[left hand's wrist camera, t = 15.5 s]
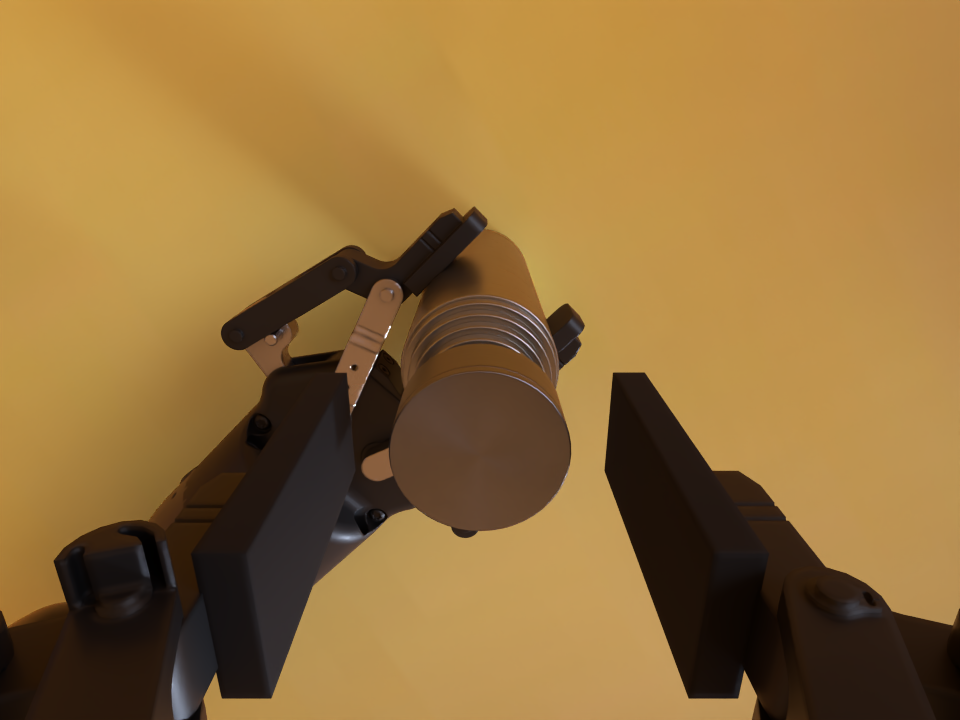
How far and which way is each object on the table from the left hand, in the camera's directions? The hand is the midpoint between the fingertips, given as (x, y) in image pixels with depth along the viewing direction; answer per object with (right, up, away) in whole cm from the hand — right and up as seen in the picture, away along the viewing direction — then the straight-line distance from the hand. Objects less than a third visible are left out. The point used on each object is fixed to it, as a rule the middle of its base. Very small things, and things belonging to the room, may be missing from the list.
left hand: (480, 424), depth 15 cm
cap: (0, 0, -1) cm, 1 cm away
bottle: (0, +6, +15) cm, 16 cm away
